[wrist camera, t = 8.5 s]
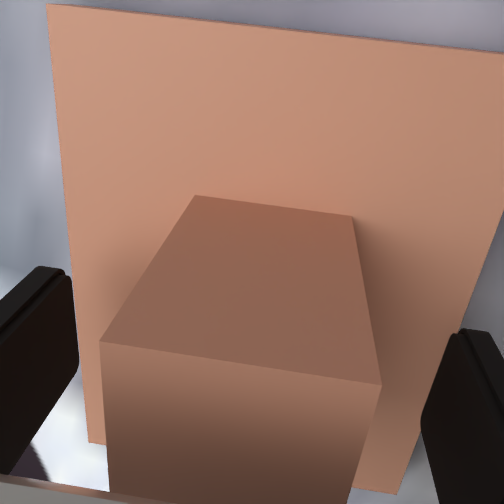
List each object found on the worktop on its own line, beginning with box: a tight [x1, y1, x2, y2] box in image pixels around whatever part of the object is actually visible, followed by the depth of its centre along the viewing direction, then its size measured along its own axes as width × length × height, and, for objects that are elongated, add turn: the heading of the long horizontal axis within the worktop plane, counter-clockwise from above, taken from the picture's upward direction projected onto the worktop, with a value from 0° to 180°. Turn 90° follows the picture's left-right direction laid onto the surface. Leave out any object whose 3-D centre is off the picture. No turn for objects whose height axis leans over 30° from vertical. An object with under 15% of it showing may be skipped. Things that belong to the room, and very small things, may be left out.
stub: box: [46, 4, 504, 504], centre depth 11 cm, size 11×14×7 cm
